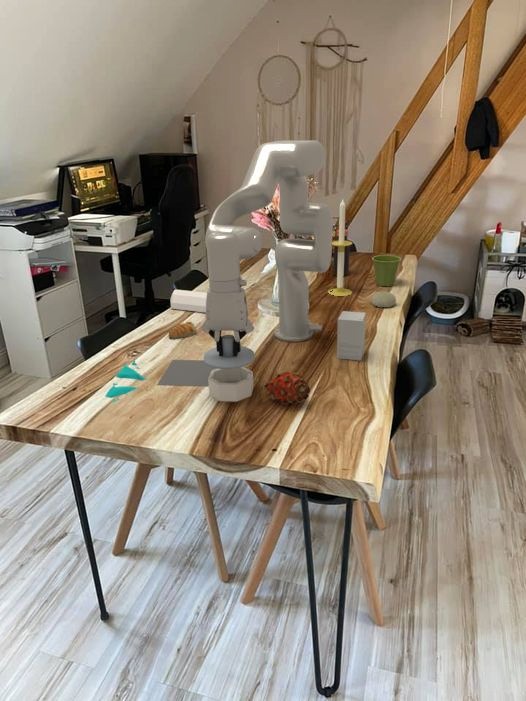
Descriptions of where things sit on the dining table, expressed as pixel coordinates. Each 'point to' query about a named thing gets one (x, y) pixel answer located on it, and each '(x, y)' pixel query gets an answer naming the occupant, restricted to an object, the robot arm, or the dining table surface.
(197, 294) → the crystal
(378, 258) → the plant pot
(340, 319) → the supplement box
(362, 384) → the dining table surface
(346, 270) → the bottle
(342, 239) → the candle
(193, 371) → the mat
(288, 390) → the dragon fruit
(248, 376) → the bowl
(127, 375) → the cloth
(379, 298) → the sea urchin shell
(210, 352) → the lid
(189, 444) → the dining table surface
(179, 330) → the pastry
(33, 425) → the dining table surface
